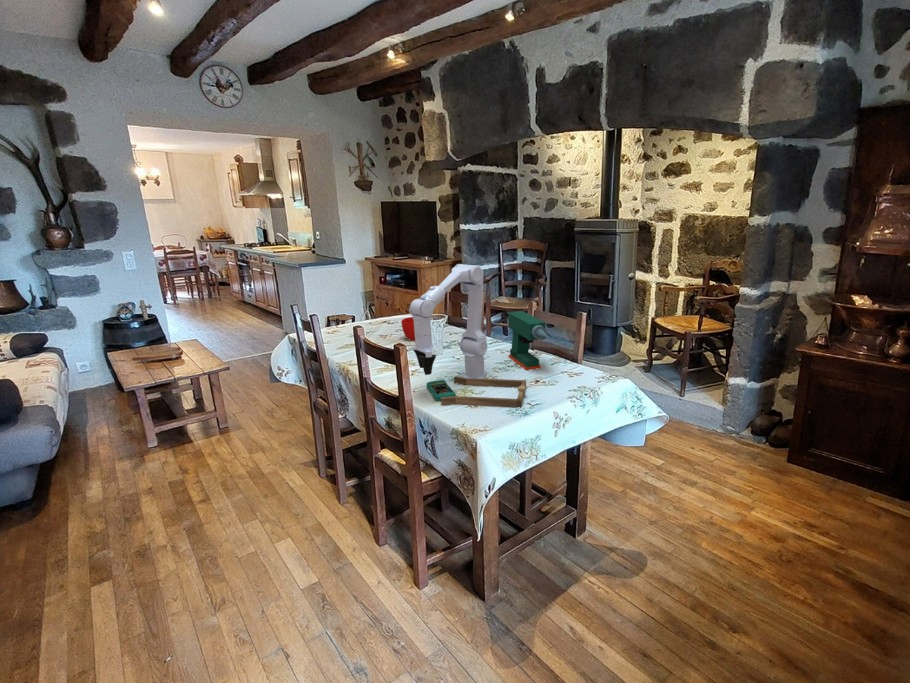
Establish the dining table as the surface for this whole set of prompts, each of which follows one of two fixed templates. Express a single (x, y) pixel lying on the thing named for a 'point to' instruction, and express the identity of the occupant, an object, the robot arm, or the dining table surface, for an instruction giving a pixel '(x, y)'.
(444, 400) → the pocket
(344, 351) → the dining table surface
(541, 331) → the power tool
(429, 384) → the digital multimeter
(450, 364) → the dining table surface
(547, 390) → the dining table surface
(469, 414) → the dining table surface
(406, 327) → the ceramic cup
